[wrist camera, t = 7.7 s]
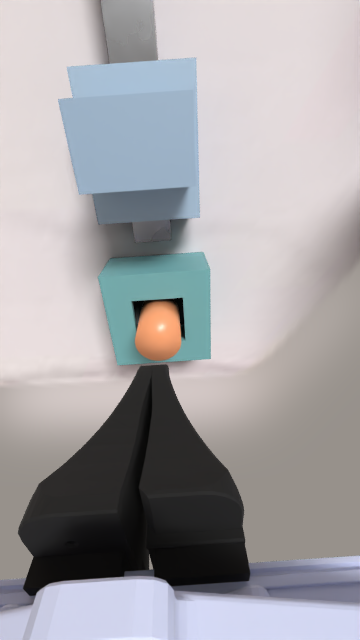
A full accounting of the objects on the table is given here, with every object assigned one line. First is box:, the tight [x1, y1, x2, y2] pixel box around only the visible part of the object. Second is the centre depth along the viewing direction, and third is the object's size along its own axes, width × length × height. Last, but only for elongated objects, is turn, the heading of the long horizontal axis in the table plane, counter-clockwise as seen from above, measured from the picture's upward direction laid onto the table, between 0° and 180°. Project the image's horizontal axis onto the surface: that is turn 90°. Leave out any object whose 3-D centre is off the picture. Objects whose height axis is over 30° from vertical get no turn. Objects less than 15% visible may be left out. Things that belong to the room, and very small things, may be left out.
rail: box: [101, 0, 171, 243], centre depth 13 cm, size 5×21×3 cm, turn 3°
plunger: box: [135, 298, 181, 361], centre depth 18 cm, size 3×3×4 cm
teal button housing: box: [98, 252, 211, 365], centre depth 20 cm, size 7×7×4 cm
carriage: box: [58, 58, 200, 225], centre depth 14 cm, size 6×7×7 cm
